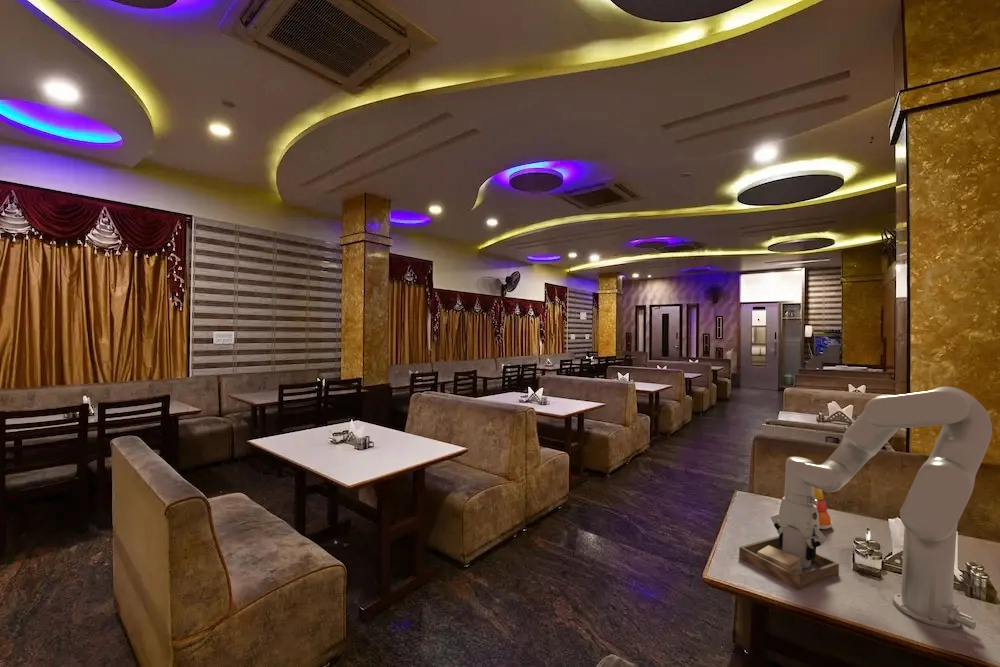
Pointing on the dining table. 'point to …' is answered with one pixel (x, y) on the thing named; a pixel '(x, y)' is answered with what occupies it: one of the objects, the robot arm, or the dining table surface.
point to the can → (795, 545)
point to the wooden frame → (798, 582)
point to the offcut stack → (781, 559)
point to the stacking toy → (822, 510)
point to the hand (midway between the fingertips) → (796, 552)
